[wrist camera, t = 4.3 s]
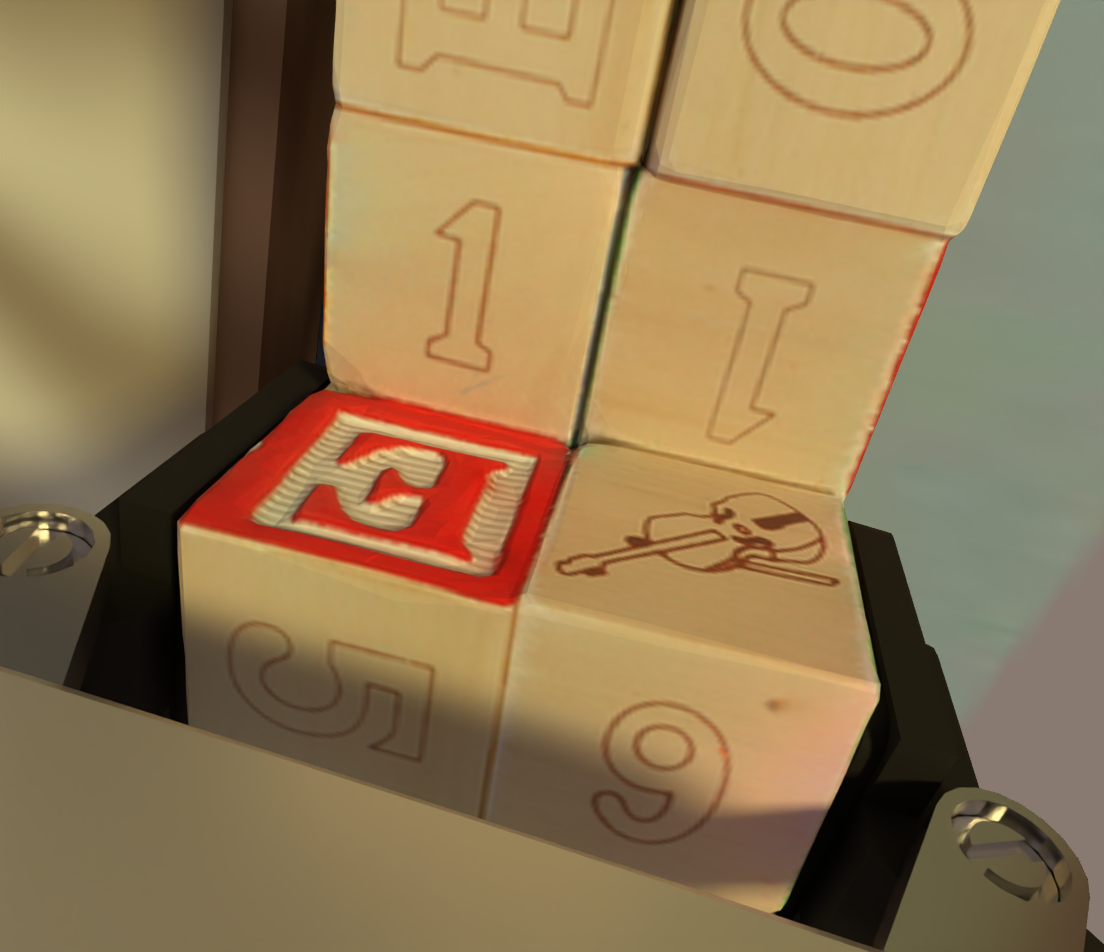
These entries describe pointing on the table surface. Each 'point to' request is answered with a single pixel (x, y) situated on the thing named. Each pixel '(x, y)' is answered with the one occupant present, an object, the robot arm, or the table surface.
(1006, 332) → the table surface
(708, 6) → the stack of blocks
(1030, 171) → the table surface
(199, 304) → the wooden tray
